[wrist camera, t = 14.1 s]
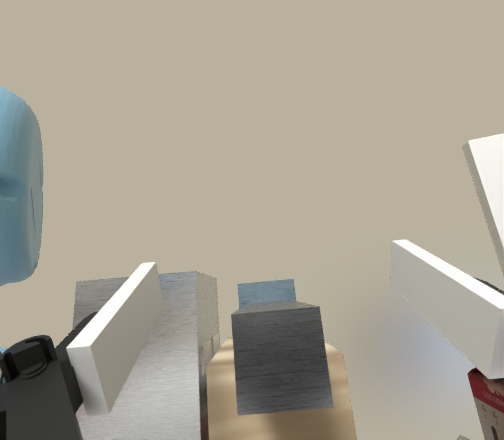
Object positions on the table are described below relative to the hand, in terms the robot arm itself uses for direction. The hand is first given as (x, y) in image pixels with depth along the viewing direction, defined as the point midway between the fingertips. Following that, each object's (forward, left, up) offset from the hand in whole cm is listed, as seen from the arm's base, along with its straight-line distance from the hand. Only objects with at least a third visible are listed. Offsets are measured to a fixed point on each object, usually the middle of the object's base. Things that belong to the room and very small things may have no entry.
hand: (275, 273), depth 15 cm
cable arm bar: (-5, +7, -6) cm, 10 cm away
